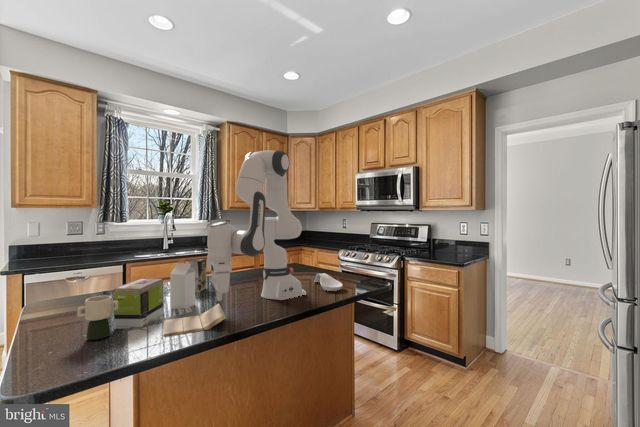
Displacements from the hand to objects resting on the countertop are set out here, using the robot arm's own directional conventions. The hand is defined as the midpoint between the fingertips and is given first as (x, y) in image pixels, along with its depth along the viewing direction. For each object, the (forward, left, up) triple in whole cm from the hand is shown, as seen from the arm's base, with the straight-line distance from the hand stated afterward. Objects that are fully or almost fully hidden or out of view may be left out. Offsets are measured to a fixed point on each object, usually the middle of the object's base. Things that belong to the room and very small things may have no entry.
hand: (219, 299), depth 116 cm
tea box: (+27, -10, -8) cm, 30 cm away
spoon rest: (-60, -25, -8) cm, 66 cm away
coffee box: (+4, -49, -8) cm, 50 cm away
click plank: (+3, +4, -6) cm, 7 cm away
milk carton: (+12, -22, -8) cm, 26 cm away
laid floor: (+13, +4, -8) cm, 15 cm away
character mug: (+38, +1, -8) cm, 39 cm away
